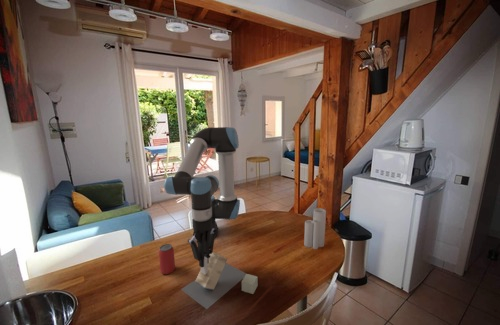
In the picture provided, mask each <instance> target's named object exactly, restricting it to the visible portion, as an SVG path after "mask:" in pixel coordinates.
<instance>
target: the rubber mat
mask: <svg viewBox="0 0 500 325" xmlns="http://www.w3.org/2000/svg"><path fill="white" fill-rule="evenodd" d="M246 274H247V273H246V272H244V271H242V270H240V269H238V268H237V267H235V266H233V265H231V264H229V263H228V262H226V263H225V266H224V268H223V270H222V272H221V275H220V277H219V279H218V282H217V284H216V286H215V288H214V290H210V289H205V288H203V287H202V286H201V285H199V284H198V283H196V282H195V281H196V279H194V280H193V281H192V282H190V283H189V284H187V285H186V286H184V287H183V288H181V291H182V292H183V293H184V294H186V295H187V296H189V297H190V298H191V299H192V300H193V301H195V302H197V303H198V304H199V305H200V306H202V307H203V308H204V309H205V310H208V309H209V308H210V307H211V306H213V305H214V304H215V303H216V302H218V300H220V299H221V298H222V297H224V295H225V294H227V293H229V291H231V289H233V288H234V287H235V286H237V284H238V283H240V282H242V280H243V278H244V277H245V275H246Z"/></svg>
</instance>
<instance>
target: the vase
mask: <svg viewBox="0 0 500 325" xmlns="http://www.w3.org/2000/svg"><path fill="white" fill-rule="evenodd" d="M312 216H313V217H312V220H311V219H306V220H305V221H304V238H303V246H304V247H306V248H312V249H314V250H318V249H319V248H322V247H324V246H325V239H326V238H325V236H326V235H325V234H326V216H327V210H326V209H324V208H321V207H315V208H313V215H312Z"/></svg>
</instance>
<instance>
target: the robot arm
mask: <svg viewBox="0 0 500 325" xmlns="http://www.w3.org/2000/svg"><path fill="white" fill-rule="evenodd" d="M238 148H239V135H238V132H237V130H236V128H234V127H230V126H229V127H228V126H227V127H226V126H223V127H210V126H209V127H205V128H203V129H201V130H199V131H198V132H196V133H195V134H194V135H193V136H192V138H191V139H190V141H189V148H187V149H188V150H187V151H186V154H185V155H184V157H183V159H182V161H181V163H180V165H179V167H178V168H177V170H176V173H175V174H174V175H173V176H168V177H166V178H165V180H164V183H163V184H164V185H163V188H164V192H165V193H166V194H168V195H175V196H177V195H180V196H181V195H185V196H188V195H189V196H190V200H191V217H192V222H191V223H192V230H193V233H192V237H191V238H188V239H187V243H188V244H189V245H190V248H191V252H192V254H193V255H192V256H193V258H194V260H196V261H198V264H199V265H198V266H199V267H200V270H201V272H202V273H203V274H207V273H208V263H209V258H210V254H212V252H214V244H215V239H216V237H217V236H218V235H219V234H220V229H219V226H218V225H217V221H216V220H236V219H237V218H238V216H239V213H240V207H241V206H240V205H241V200H240V199H239V198H238V195H237V194H235V170H234V169H235V166H234V154H235V153H236V152H237V149H238ZM208 149H214V151H215V153H216V154H217V158H218V159H217V160H218V177H216V176H214V175H210V174H209V175H207V176H195V177H194V175H195V174H196V170H197V169H198V166H199V164H200V161H201V159H202V156H203V154H204V153H205V152H206V151H207V150H208ZM218 178H219V179H218ZM218 189H219V195H217V197H216V198H215V196H214V194H215V193H217V191H218Z"/></svg>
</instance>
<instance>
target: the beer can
mask: <svg viewBox="0 0 500 325" xmlns="http://www.w3.org/2000/svg"><path fill="white" fill-rule="evenodd" d="M175 260H176V259H175V251H174V247H173V245H172V244H170V243H165V244H162V245H160V247H159V250H158V261H159V271H160V273H161V274H162V275H169V274H172V273H173V272H174V271H175V270H176V262H175Z"/></svg>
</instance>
